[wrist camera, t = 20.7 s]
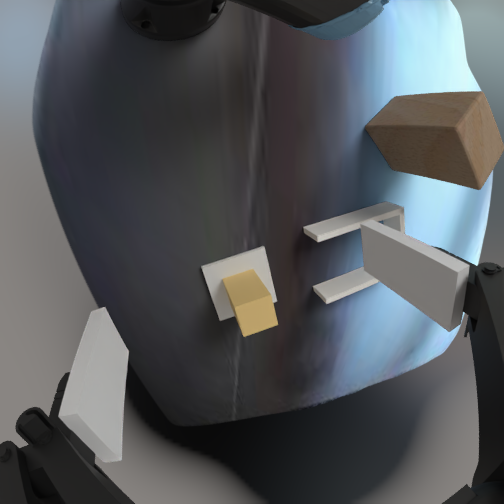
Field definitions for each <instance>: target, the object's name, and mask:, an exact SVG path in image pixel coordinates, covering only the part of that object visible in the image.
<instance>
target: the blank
mask: <svg viewBox="0 0 504 504" xmlns="http://www.w3.org/2000/svg"><path fill="white" fill-rule="evenodd" d="M222 280H223V283H224V286H225V289H226V292H227V296H228V299H229V302H230V305H231V308H232V310H233V312H234V315H235V317H236V320H237V322H238V324H239V327H240V329H241V331H242V334H243V336H244V337H245V336H248V335H251V334H253V333H256V332H259V331H262V330H265V329H268V328H270V327H273V326H276V325H278V322H277V318H276V314H275V309H274V305H273V301H272V296H271V294H270V292H269V291H268V290H267V288H266V287H265V285H264V284H263V282H262V281H261V279H260V278H259V277H258V275H257V274H256V272H255V271H254V269H250V270H247V271H244V272H241V273H238V274H235V275H232V276H229V277H226V278H223V279H222Z"/></svg>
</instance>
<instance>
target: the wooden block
mask: <svg viewBox="0 0 504 504" xmlns="http://www.w3.org/2000/svg"><path fill="white" fill-rule="evenodd" d="M365 129H366V131H367V132H368V133H369V135H370V136H371V138H372V139H373V141H374V142H375V144H376V145H377V147H378V148H379V150H380V151H381V153H382V154H383V156H384V158H385V159H386V161H387V162H388V164H389V166H390V167H391V169H392V170H394V171H399V172H404V173H409V174H414V175H419V176H423V177H428V178H432V179H437V180H441V181H445V182H450V183H454V184H458V185H462V186H465V187H469V188H473V189H477V190H480V189H481V188H482V186H483V185H484V183H485V182H486V180H487V178H488V177H489V175H490V173H491V172H492V170H493V168H494V166H495V165H496V163H497V161H498V160H499V158H500V156H501V154H502V152H503V151H504V145H503V143H502V139H501V136H500V133H499V130H498V128H497V125H496V122H495V120H494V117H493V114H492V111H491V109H490V106H489V104H488V102H487V99H486V97H485V94H484V93H483V92H481V91H480V92H444V93H428V94H415V95H404V96H396V97H394V98H393V99H392V100H391V101H390V102H389V103H388V104H387V105H386V106H385V107H384V108H383V109H382V110H381V111H380V112H379V113H378V114H377V115H376V116H375V117H374V118H373V119H372V120H371V121H370V122H369V123H368V124H367V125H366V126H365Z"/></svg>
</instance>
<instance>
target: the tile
mask: <svg viewBox="0 0 504 504" xmlns="http://www.w3.org/2000/svg"><path fill="white" fill-rule="evenodd" d="M201 267H202V270H203V273H204V276H205V279H206V282H207V285H208V288H209V291H210V294H211V297H212V300H213V303H214V305H215V308H216V311H217V314H218V317H219V320H220V321H222V320H225V319H228V318H231V317H234V316H235V315H234V312H233V310H232V308H231V305H230V302H229V299H228V296H227V292H226V289H225V286H224V283H223V280H222V279H223V278H226V277H229V276H232V275H235V274H238V273H241V272H244V271H247V270H250V269H254V271H255V272H256V274H257V275H258V277H259V278H260V279H261V281H262V282H263V284H264V285H265V287H266V288H267V290H268V291H269V292H270V294H271V296H272V301H273V303H274V302H277V299H276V295H275V291H274V286H273V282H272V278H271V273H270V269H269V265H268V260H267V256H266V252H265V247H264V246H262V247H259V248H256V249H253V250H250V251H247V252H244V253H240V254H237V255H234V256H231V257H228V258H225V259H222V260H219V261H216V262H213V263H210V264H206V265H203V266H201Z"/></svg>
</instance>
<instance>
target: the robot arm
mask: <svg viewBox="0 0 504 504" xmlns="http://www.w3.org/2000/svg"><path fill="white" fill-rule="evenodd" d="M229 1H232V2H235V3H238V4H240V5H243V6H246V7H248V8H251V9H253V10H256V11H258V12H261V13H263V14H266V15H268V16H271V17H273V18H275V19H277V20H280V21H282V22H284V23H286V24H288V25H289V27H291V28H293V29H296V30H302V31H304V32H306V33H308V34H311V35H313V36H315V37H317V38H319V39H323V40H338V39H342V38H345V37H348V36H350V35H352V34H354V33H356V32H358V31H359V30H361V29H363V28H364V27H365V26H367V25H368V24H369V23H371V22H372V21H373V20H374V19H375V18H376V17H377V16H378V15H379V14H380V13H381V12H382V11H383V9H384V8H383V5H385V4H387V3H388V2H389V1H390V0H229ZM225 4H226V0H121V9H122V12H123V15H124V18H125V20H126V22H127V23H128V25H129V26H130V27H131V28H132V29H133V30H134V31H136V32H137V33H139V34H141V35H143V36H145V37H148V38H151V39H155V40H163V41H172V40H180V39H185V38H188V37H192V36H194V35H197V34H199V33H201V32H203V31H204V30H206V29H207V28H209V27H210V26H211V25H212V24H213V23H214V22H215V21H216V20H217V19H218V18H219V16H220V14H221V13H222V11H223V8H224V6H225ZM360 227H361V237H362V248H363V261H364V271H366V272H367V273H368V274H370V275H371V276H373V277H374V278H376V279H377V280H378V281H380V282H381V283H383V284H384V285H386V286H387V287H388V288H390V289H391V290H393V291H394V292H395V293H397V294H398V295H400V296H401V297H402V298H404V299H405V300H407V301H408V302H409V303H411V304H412V305H413V306H415V307H416V308H418V309H419V310H420V311H422V312H423V313H424V314H426V315H427V316H428V317H430V318H431V319H432V320H434V321H435V322H437V323H438V324H439V325H441V326H442V327H443V328H444V329H446V330H447V331H448V332H450V331H451V330H453V329H454V328H456V327H457V326H458V325H460V324H461V320H462V315H463V312H465V313H466V314H467V315H469V316H468V321H467V325H466V330H465V335H464V337H467V333H468V332H469V334H470V340H471V346H472V353H473V360H474V367H475V376H476V385H477V397H478V411H479V412H478V413H479V462H478V465H477V468H476V471H475V473H474V477H473V482H472V487H471V488H470V487H468V485H467V484H466V485H465V486H464V487H463V488H461V489H460V490H459V491H458V492H457V493H455V494H454V495H453V496H451V497H450V498H449V499H447V500H446V501H445V502H443V503H442V504H504V268H501V267H500V266H499V265H497V264H494V263H481V264H479V265H478V266H476V265H474V264H472V263H470V262H468V261H466V260H464V259H462V258H460V257H458V256H455V255H454V254H452V253H449V252H448V251H446V250H443V249H441V248H438V247H433V246H430V245H427V244H425V243H423V242H421V241H419V240H417V239H415V238H412V237H410V236H408V235H406V234H404V233H401V232H399V231H397V230H395V229H392V228H390V227H388V226H386V225H383V224H381V223H379V222H376V221H374V220H369V221H366V222H363V223H360ZM128 354H129V351H128V349H127V348H126V346H125V344H124V342H123V340H122V339H121V337H120V335H119V333H118V331H117V329H116V327H115V326H114V324H113V322H112V320H111V318H110V316H109V314H108V312H107V310H106V308H105V307H103V308H100V309H97V310H94V311H91V314H90V316H89V319H88V322H87V324H86V327H85V330H84V333H83V336H82V339H81V341H80V344H79V347H78V350H77V353H76V356H75V359H74V363H73V366H72V369H71V372H68V373H65V375H64V376H63V377H62V379H61V380H60V382H59V384H58V388H57V393H56V394H55V397H54V399H55V400H54V401H53V404H52V408H51V411H50V415H49V417H48V416H47V415H46V414H45V413H44V412H43V410H41V409H40V408H38V407H33V408H29V409H28V410H26V411H24V412H23V413H22V414H21V415H20V417H19V418H18V420H17V422H16V432H17V433H18V434H19V435H20V436H21V437H22V438H23V439H24V440H25V441H26V442H27V443H28V444H29V445H27V446H24V447H22V448H18V447H17V446H16V445H15V444H14V443H13V442H11V441H5V442H3V443H2V444H0V504H135V503H134V502H133V501H132V500H131V499H130V498H129V497H128V496H127V495H126V494H124V493H123V492H122V491H121V490H120V489H119V488H118V487H117V486H116V485H115V484H114V482H112V480H111V479H110V478H109V477H108V476H107V475H106V474H105V473H104V472H103V471H102V470H101V469H100V468H99V467H98V466H97V465H96V464H95V455H96V456H97V457H98V458H100V459H101V460H102V461H103V462H114V461H121V460H122V431H123V411H124V397H125V383H126V373H127V364H128Z"/></svg>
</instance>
